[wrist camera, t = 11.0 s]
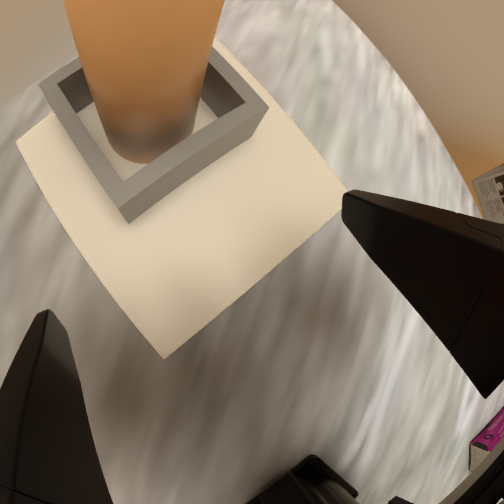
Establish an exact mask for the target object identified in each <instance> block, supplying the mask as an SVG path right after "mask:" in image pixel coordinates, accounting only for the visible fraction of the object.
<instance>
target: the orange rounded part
mask: <svg viewBox="0 0 504 504" xmlns="http://www.w3.org/2000/svg"><path fill="white" fill-rule="evenodd" d="M64 4H65V8H66V12H67V16H68V20H69V23H70V27H71V31H72V34H73V38H74V41H75V45H76V48H77V51H78V55H79V58H80V61H81V65H82V68H83V71H84V74H85V77H86V80H87V83H88V86H89V89H90V92H91V95H92V98H93V101H94V104H95V107H96V109H97V112H98V115H99V118H100V121H101V123H102V126H103V129H104V131H105V134H106V137H107V139H108V142H109V144H110V146H111V147H112V149H113V150H114V151H115V152H116V153H117V154H118V155H119V156H121V157H123V158H124V159H126V160H129V161H131V162H135V163H141V164H149V163H150V162H152V161H153V160H154V159H156V158H157V157H159V156H160V155H162V154H163V153H165V152H166V151H168V150H169V149H171V148H172V147H174V146H175V145H177V144H178V143H180V142H181V141H183V140H184V139H186V138H187V137H189V136H191V135H192V132H193V128H194V124H195V119H196V114H197V109H198V104H199V100H200V95H201V91H202V86H203V82H204V77H205V73H206V69H207V65H208V61H209V56H210V52H211V48H212V44H213V41H214V37H215V33H216V29H217V25H218V22H219V18H220V14H221V11H222V7H223V4H224V0H64Z"/></svg>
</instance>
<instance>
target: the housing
mask: <svg viewBox="0 0 504 504" xmlns="http://www.w3.org/2000/svg"><path fill="white" fill-rule="evenodd" d="M38 85H39V86H40V88H41V90H42V92H43V94H44V95H45V97H46V99H47V101H48V102H49V104H50V106H51V107H52V109H53V111H54V112H52V113H51V114H50V115H48V116H47V117H46V118H44V119H43V120H42V121H41V122H39V123H38V124H37V125H35V126H34V127H33V128H32V129H30V130H29V131H28V132H27V133H26V134H24V135H23V136H22V137H21V138H20V139H18V140H17V141H16V144H17V146H18V148H19V150H20V152H21V154H22V156H23V157H24V159H25V161H26V163H27V165H28V167H29V169H30V171H31V172H32V174H33V176H34V178H35V180H36V182H37V183H38V185H39V187H40V189H41V190H42V192H43V194H44V196H45V197H46V199H47V201H48V202H49V204H50V206H51V207H52V209H53V211H54V212H55V214H56V215H57V217H58V219H59V220H60V222H61V223H62V225H63V227H64V228H65V230H66V231H67V233H68V234H69V236H70V237H71V239H72V241H73V242H74V244H75V245H76V247H77V248H78V250H79V251H80V252H81V254H82V255H83V257H84V258H85V260H86V261H87V263H88V264H89V265H90V267H91V268H92V270H93V271H94V272H95V274H96V275H97V277H98V278H99V279H100V281H101V282H102V284H103V285H104V286H105V288H106V289H107V290H108V292H109V293H110V294H111V296H112V297H113V298H114V299H115V301H116V302H117V303H118V305H119V306H120V307H121V309H122V310H123V311H124V312H125V314H126V315H127V316H128V317H129V319H130V320H131V321H132V322H133V324H134V325H135V326H136V327H137V328H138V330H139V331H140V332H141V333H142V335H143V336H144V337H145V338H146V339H147V340H148V342H149V343H150V344H151V345H152V346H153V347H154V349H155V350H156V351H157V352H158V353H159V354H160V356H161V357H162V358H163V359H165V358H167V357H168V356H169V355H170V354H171V353H173V352H174V351H175V350H176V349H178V348H179V347H180V346H181V345H183V344H184V343H185V342H186V341H187V340H189V339H190V338H191V337H192V336H193V335H195V334H196V333H197V332H198V331H200V330H201V329H202V328H203V327H204V326H206V325H207V324H208V323H209V322H210V321H212V320H213V319H214V318H215V317H216V316H218V315H219V314H220V313H221V312H222V311H224V310H225V309H226V308H227V307H228V306H230V305H231V304H232V303H233V302H234V301H235V300H237V299H238V298H239V297H240V296H241V295H243V294H244V293H245V292H246V291H247V290H249V289H250V288H251V287H252V286H253V285H254V284H256V283H257V282H258V281H259V280H260V279H261V278H263V277H264V276H265V275H266V274H267V273H268V272H270V271H271V270H272V269H273V268H274V267H275V266H277V265H278V264H279V263H280V262H281V261H282V260H284V259H285V258H286V257H287V256H288V255H289V254H291V253H292V252H293V251H294V250H295V249H296V248H298V247H299V246H300V245H301V244H302V243H303V242H304V241H306V240H307V239H308V238H309V237H310V236H311V235H312V234H314V233H315V232H316V231H317V230H318V229H319V228H320V227H322V226H323V225H324V224H325V223H326V222H327V221H328V220H330V219H331V218H332V217H333V216H334V215H335V214H336V213H337V212H339V211H340V210H341V209H342V196H343V194H344V193H346V192H348V191H347V190H346V188H345V187H344V186H343V184H342V183H341V182H340V180H339V179H338V178H337V176H336V175H335V174H334V172H333V171H332V170H331V168H330V167H329V166H328V164H327V163H326V162H325V161H324V159H323V158H322V157H321V155H320V154H319V153H318V152H317V150H316V149H315V148H314V147H313V145H312V144H311V143H310V142H309V140H308V139H307V138H306V137H305V135H304V134H303V133H302V132H301V131H300V129H299V128H298V127H297V126H296V125H295V123H294V122H293V121H292V120H291V119H290V117H289V116H288V115H287V114H286V113H285V112H284V110H283V109H282V108H281V107H280V106H279V105H278V104H277V102H276V101H275V100H274V99H273V98H272V97H271V96H270V94H269V93H268V92H267V91H266V90H265V89H264V88H263V87H262V86H261V85H260V83H259V82H258V81H257V80H256V79H255V78H254V77H253V76H252V75H251V74H250V73H249V72H248V71H247V69H246V68H245V67H244V66H243V65H242V64H241V63H240V62H239V61H238V60H237V59H236V58H235V57H234V56H233V55H232V54H231V53H230V52H229V51H228V50H227V49H226V48H225V47H224V46H223V45H222V44H221V43H220V42H219V41H218V40H217V39H216V38H215V37H214V41H213V44H212V48H211V52H210V56H209V61H208V65H207V69H206V73H205V77H204V82H203V86H202V91H201V95H200V100H199V104H198V109H197V114H196V119H195V124H194V128H193V132H192V135H191V136H189V137H187V138H186V139H184V140H183V141H181V142H180V143H178V144H177V145H175V146H174V147H172V148H171V149H169V150H168V151H166V152H165V153H163V154H162V155H160V156H159V157H157V158H156V159H154V160H153V161H152V162H150V163H149V164H141V163H135V162H131V161H129V160H126V159H124V158H123V157H121V156H119V155H118V154H117V153H116V152H115V151H114V150H113V149H112V147H111V146H110V144H109V142H108V139H107V137H106V134H105V131H104V129H103V126H102V123H101V121H100V118H99V115H98V112H97V109H96V107H95V104H94V101H93V98H92V95H91V92H90V89H89V86H88V83H87V80H86V77H85V74H84V71H83V68H82V65H81V61H80V58H79V57H78V58H77V59H75V60H73V61H72V62H70V63H69V64H67V65H65V66H64V67H62V68H61V69H59V70H58V71H56V72H55V73H53V74H52V75H50V76H49V77H48V78H46V79H45V80H43V81H42V82H41V83H39V84H38Z"/></svg>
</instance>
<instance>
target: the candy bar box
mask: <svg viewBox="0 0 504 504" xmlns="http://www.w3.org/2000/svg"><path fill="white" fill-rule="evenodd" d="M503 437H504V408H503V409H502V410H501V411H500V412H499V414H498V415H497V416H496V417H495V418H494V419H493V420H492V421H491V422H490V423H489V424H488V426H487V427H486V428H485V429H484V430H483V431H482V432H481V433H480V434H479V435H478V436H477V437H476V438H475V439H474V440H473V441H472V442H471V443H470V469H469V470H470V471H471V472H473V471H474V470H475V469H476V468H477V467H478V465H479V464H480V463H481V462H482V461H483V460H484V459H485V458H486V457H487V456H488V454H489V453H490V452H491V451H492V450H493V449H494V447H495V446H496V445H497V444H498V443H499V442H500V440H501V439H502V438H503Z"/></svg>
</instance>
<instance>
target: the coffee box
mask: <svg viewBox="0 0 504 504" xmlns="http://www.w3.org/2000/svg"><path fill="white" fill-rule="evenodd" d="M472 182H473V186H474V189H475V191H476V194H477V197H478V200H479V202H480V205H481V208H482V211H483V214H484V217H485V220H488V221H492V222H497V223H501V224H504V164H502V165H500V166H498V167H496V168H494V169H492V170H490V171H489V172H487V173H485V174H484V175H482V176H480V177H478V178H476V179H474V180H473V181H472Z"/></svg>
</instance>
